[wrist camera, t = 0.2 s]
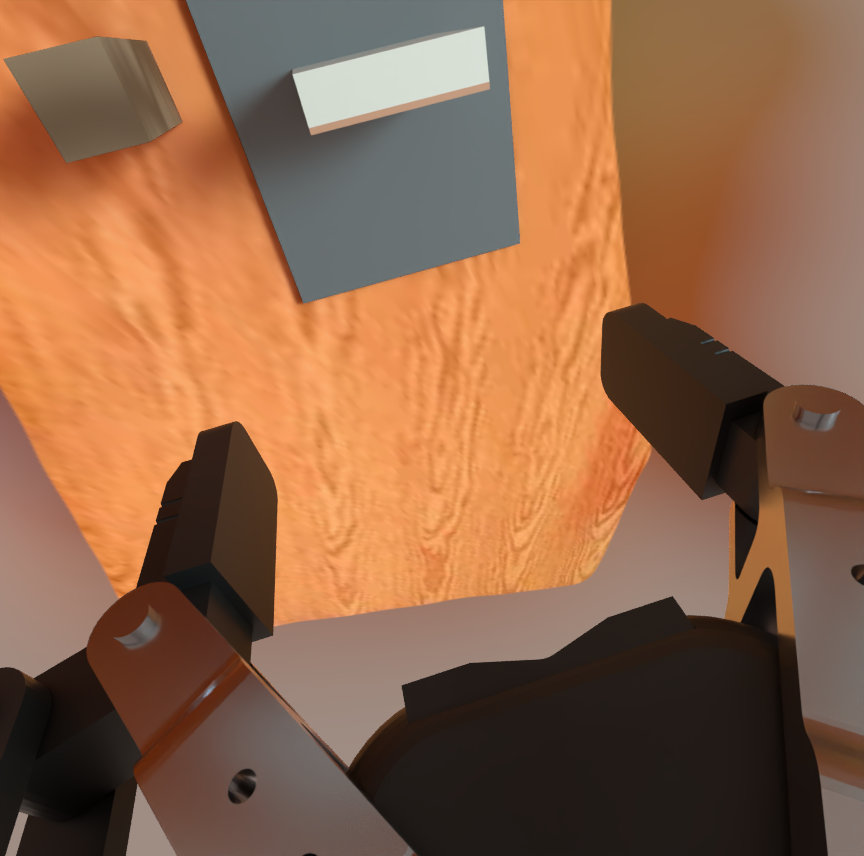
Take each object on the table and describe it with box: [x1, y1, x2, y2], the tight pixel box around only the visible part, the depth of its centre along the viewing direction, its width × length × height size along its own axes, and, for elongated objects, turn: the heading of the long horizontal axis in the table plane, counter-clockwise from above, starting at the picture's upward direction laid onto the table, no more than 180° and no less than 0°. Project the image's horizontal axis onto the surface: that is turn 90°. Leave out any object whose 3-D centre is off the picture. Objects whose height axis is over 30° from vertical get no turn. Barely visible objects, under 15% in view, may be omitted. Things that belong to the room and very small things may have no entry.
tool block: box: [3, 36, 183, 163], centre depth 25 cm, size 4×4×9 cm
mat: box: [186, 0, 520, 303], centre depth 32 cm, size 22×18×1 cm
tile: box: [293, 26, 490, 135], centre depth 26 cm, size 2×9×10 cm, turn 101°
